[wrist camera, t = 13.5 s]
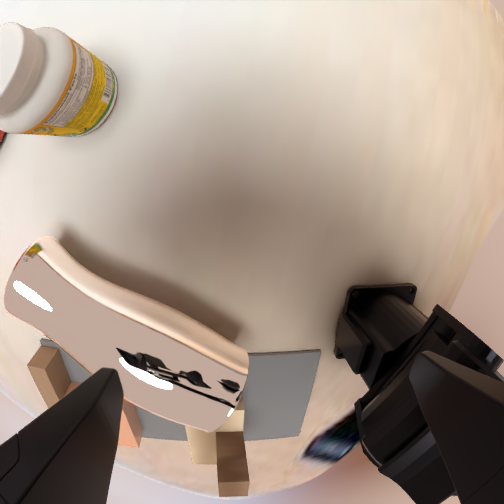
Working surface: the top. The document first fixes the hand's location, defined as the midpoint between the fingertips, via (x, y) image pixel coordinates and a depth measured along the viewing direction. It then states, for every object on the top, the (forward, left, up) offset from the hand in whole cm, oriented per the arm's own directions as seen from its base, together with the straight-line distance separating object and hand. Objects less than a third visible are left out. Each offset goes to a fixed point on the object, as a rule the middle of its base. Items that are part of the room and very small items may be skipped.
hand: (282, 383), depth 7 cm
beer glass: (+14, +1, -9) cm, 17 cm away
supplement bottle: (+11, -10, -12) cm, 19 cm away
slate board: (+6, +14, -12) cm, 20 cm away
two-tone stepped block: (+2, +16, -12) cm, 20 cm away
